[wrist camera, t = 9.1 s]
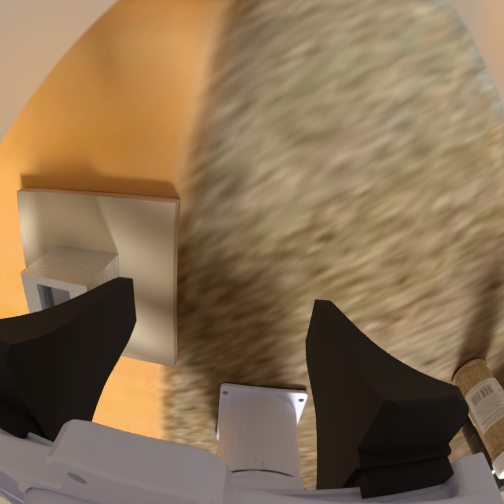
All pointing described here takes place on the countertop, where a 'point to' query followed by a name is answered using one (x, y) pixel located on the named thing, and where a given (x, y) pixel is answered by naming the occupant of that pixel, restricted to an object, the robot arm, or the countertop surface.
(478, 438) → the supplement bottle
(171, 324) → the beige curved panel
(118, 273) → the hollow square tube
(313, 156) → the countertop surface
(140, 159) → the countertop surface
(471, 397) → the sprinkles bottle
